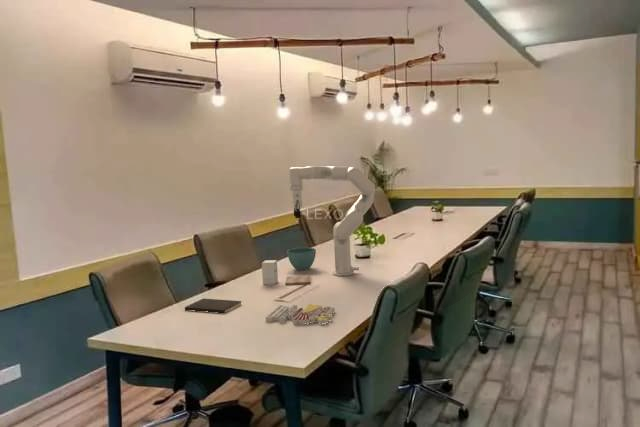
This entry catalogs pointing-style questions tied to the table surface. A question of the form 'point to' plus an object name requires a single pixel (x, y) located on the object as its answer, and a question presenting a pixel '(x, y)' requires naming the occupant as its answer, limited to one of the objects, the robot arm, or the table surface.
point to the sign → (301, 314)
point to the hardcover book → (213, 305)
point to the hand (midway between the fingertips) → (297, 217)
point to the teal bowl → (301, 258)
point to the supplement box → (269, 272)
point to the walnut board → (297, 280)
